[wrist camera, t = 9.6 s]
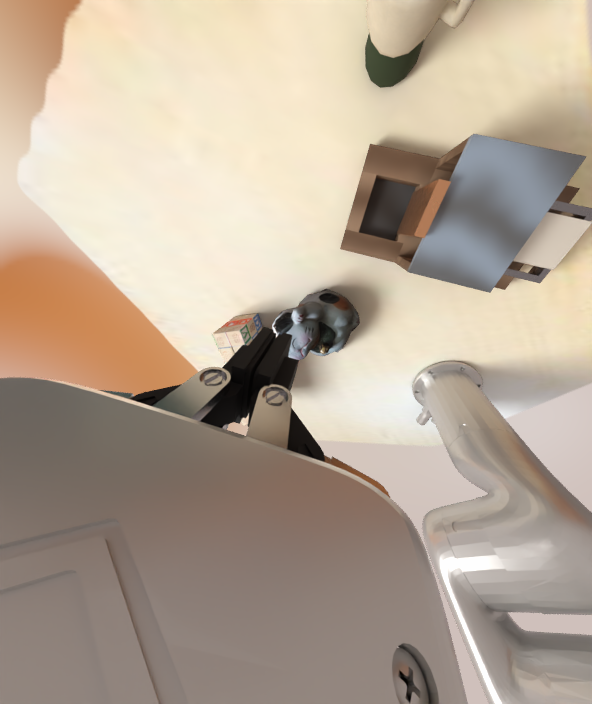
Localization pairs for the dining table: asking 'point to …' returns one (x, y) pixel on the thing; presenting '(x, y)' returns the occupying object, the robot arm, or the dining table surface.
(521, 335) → the dining table surface
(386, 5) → the character mug
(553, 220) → the block
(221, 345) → the stack of blocks
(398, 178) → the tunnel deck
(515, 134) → the dining table surface
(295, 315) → the lucky cat figurine
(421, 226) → the sled
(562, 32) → the dining table surface
